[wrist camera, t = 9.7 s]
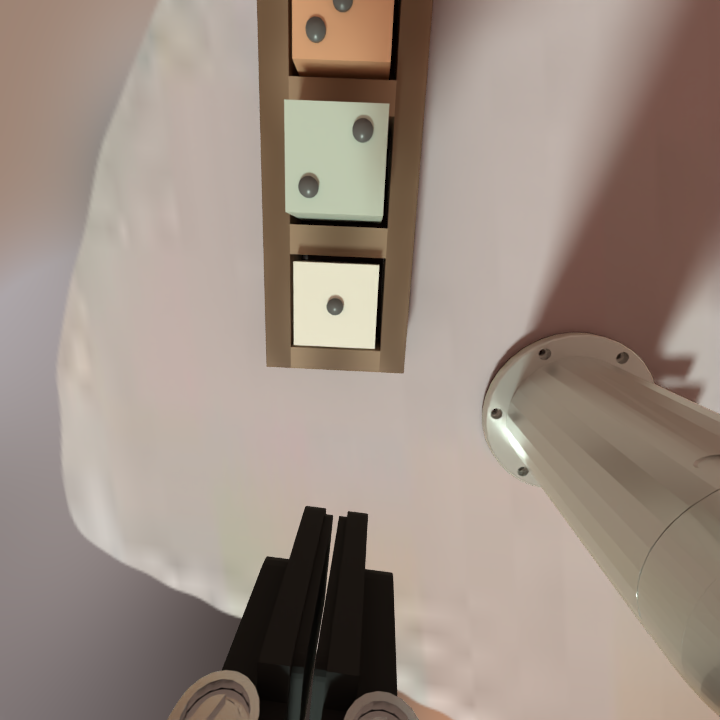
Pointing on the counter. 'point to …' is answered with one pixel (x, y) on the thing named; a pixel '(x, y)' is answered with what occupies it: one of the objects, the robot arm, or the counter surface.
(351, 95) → the button board
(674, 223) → the counter surface
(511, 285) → the counter surface
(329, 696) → the robot arm
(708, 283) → the counter surface
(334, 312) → the button one
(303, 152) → the button two
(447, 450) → the counter surface
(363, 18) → the button three
